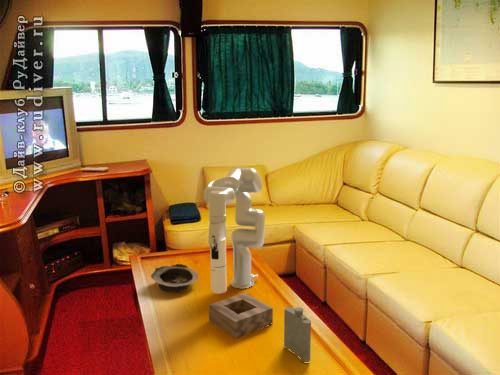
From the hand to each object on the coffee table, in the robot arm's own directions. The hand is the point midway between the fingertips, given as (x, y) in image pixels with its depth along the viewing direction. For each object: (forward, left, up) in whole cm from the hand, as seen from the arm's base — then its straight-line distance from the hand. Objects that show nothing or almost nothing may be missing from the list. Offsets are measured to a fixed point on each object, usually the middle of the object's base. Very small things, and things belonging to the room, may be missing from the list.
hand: (218, 255), depth 227 cm
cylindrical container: (0, 0, -17) cm, 17 cm away
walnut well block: (-6, +9, -32) cm, 33 cm away
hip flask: (-8, +45, -32) cm, 55 cm away
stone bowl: (-3, -45, -32) cm, 56 cm away
